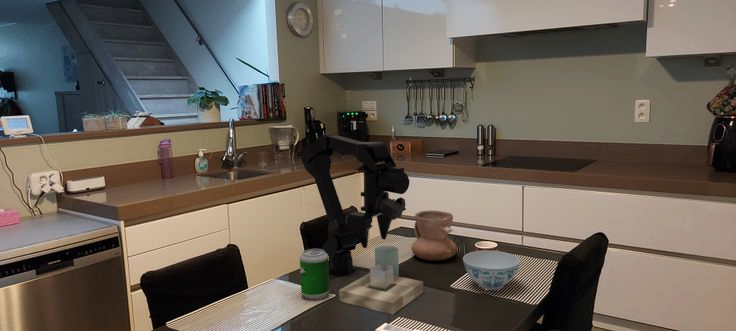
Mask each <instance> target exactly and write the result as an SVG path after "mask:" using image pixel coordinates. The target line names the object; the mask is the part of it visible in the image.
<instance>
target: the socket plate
mask: <svg viewBox="0 0 736 331" xmlns="http://www.w3.org/2000/svg"><path fill="white" fill-rule="evenodd" d="M393 285H394V287H392V288H391V289H389V290H388V291H386V292H384V291H380V290H375V289H371V284H370V272H369V273H367V274H366V275H364V276H362V277H360V278H357V280H355V281H353V282H351V283H349V284H348V285H346V286H344V287H342V288H340V289H339V290H338V293H339V302H341V303H345V304H350V305H353V306H357V307H361V308H365V309H368V310H373V311H377V312H381V313H383V314H389V315H395V313H397V312H398V311H400V310H401V309H402V308H404V307H405V306H406V305H408V304H409V303H411V302H412V301H413V300H414V299H416V298H418V297H419V296H420V295H422V293H424V281H422V280H419V279H412V278H407V277H402V276H394V275H393Z"/></svg>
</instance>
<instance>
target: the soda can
mask: <svg viewBox="0 0 736 331" xmlns="http://www.w3.org/2000/svg"><path fill="white" fill-rule="evenodd" d="M299 271H300V273H299V274H300V289H301V290H300V293H301V295H302V296H304V298H305V299H307V300H310V299H317V300H320V299H321V300H322V299H324V298H326V296H327V295H328V294H329V293H330V276H329V275H330V273H329V255H328V254H327V253H325V251H324V250H323V248H322V249H321V248H310V249H306V250H305V249H304V250H303V251H302V253H301V254H300V255H299Z"/></svg>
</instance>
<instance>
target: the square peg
mask: <svg viewBox="0 0 736 331" xmlns="http://www.w3.org/2000/svg"><path fill="white" fill-rule="evenodd" d="M369 273H370V284H371V289H375V290H380V291H384V292H386V291H388V290H389V289H391V288H392V287H394V285H393V266H388V265H383V264H378V265H376V266H375V265H374V266H373V267H370V268H369Z"/></svg>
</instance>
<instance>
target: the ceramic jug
mask: <svg viewBox="0 0 736 331" xmlns="http://www.w3.org/2000/svg"><path fill="white" fill-rule="evenodd" d="M414 218H415V223H414V234H415V236H416V240H415V241H413V243H412V245H411V252H412V254H413V255H414V256H416V257H417V258H419V259H422V260H426V261H431V262H436V261H438V262H439V261H445V260H448V259H450V258H452V257H454V256H455V255H456V254H457V251H458V250H457V249H458V246H457V244H456V243H455V241H454V240H451V238H449V237H448V234H450V233H451V232H453V229H452V228H451V227H452V224H453V222H454V221H453V220H454V214H453V213H451V212H446V211H442V210H441V211H440V210H431V209H430V210H421V211H418V212H415V213H414Z"/></svg>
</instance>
